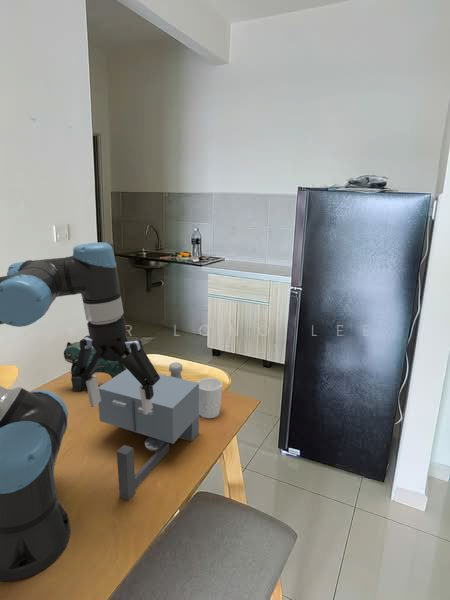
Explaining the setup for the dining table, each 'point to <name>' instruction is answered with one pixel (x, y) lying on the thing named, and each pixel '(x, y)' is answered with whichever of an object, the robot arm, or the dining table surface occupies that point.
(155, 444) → the steel token
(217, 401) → the white cup
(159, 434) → the cabinet
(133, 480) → the l-shaped tool
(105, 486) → the dining table surface
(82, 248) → the robot arm
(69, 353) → the ceramic cat
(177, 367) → the salt shaker
